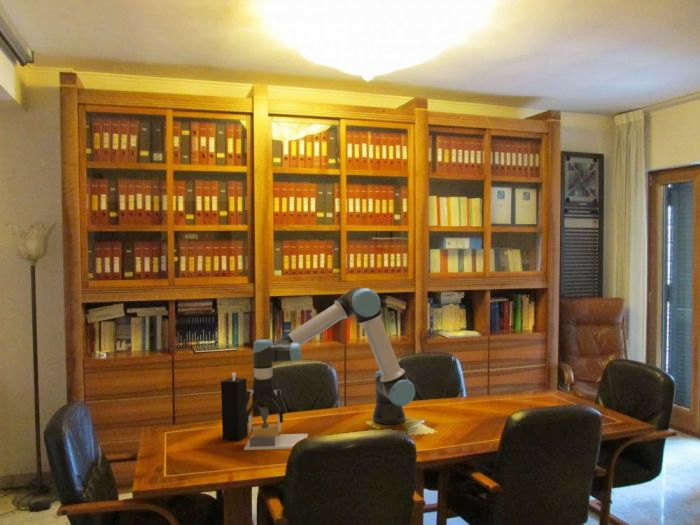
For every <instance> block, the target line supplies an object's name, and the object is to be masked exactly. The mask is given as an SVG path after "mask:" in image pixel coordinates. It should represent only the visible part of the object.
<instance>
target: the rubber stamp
mask: <svg viewBox="0 0 700 525" xmlns="http://www.w3.org/2000/svg"><path fill="white" fill-rule="evenodd" d="M269 414H270V412H269V408H268V407H267V406H262V407H261V408H260V417H261V420H262V422H263V423H262V425H257V426H252V428H251V430H252V431H251V435H252V437H267V436H279V434H280V432H279V433H278V425H277V424H275V423H270V424H267V420H268V418H269Z"/></svg>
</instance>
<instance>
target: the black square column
mask: <svg viewBox="0 0 700 525" xmlns="http://www.w3.org/2000/svg"><path fill="white" fill-rule="evenodd" d="M236 375H237V372H234V371H233V372H231V377H230V378H226V379H224V380H222V381H220V388H221V389H220V390H221V392H220V393H221V394H220V395H221V396H220V397H221V422H222V424H221V426H222V428H221V429H222V430H221V431H222V432H221V433H222V441H223V440H224V441H232V442H240V441H241V440H243V439H244V438H246V437H248V436H249V435H248V433H249V427H248V424H247V423H246V415H242V414H241V412H242V410H243V407H244V404H245V401H246V398H247V391H248V389H247V378H245V377H244V378H242V377H240V378H239V377H236ZM246 411H248V408H247V409H246Z"/></svg>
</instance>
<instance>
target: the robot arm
mask: <svg viewBox="0 0 700 525" xmlns="http://www.w3.org/2000/svg"><path fill="white" fill-rule="evenodd" d="M382 315H383V311H382V309H381V299H380V297H379V295H378V293H377V292H375V291H374V290H373V289H371V288H365V287H363V288H361V287H355V288H352V289H350V290H348V291H347V292H345V293H344V294H343V295H341V296H340V297H338V298H337V299H336V300H334V304H332V305H330V306H329V307H328V308H326V309H325V310H323V311H321V312H320V313H319V314H317V315H315V316H314V317H312V318H311V319H309V320H308V321H305V322H304V323H303V324H302V325H300V326H298V327H297V328H295V329H294V330H292V331H290V332H289V333H288V334H286V335H285V336H283V337H282V338H277V339H276V340H275V341H274V342H272V340H271V339H263V338H262V339H257V340H255V341H254V342H253V348H252V350H253V355H252V356H253V376H254V377H253V378H254V379H253V382H254V383H253V384H254V386H253V387H254V388H253V390H251V389H247V398H246V401H245V404H244V407H243V410H242V412H241V414H242V415H246V423H247V425H248V433H252V430H251V428H252V427H253V422H252V421H253V420H252V417H253V416H252V415H253V414H251V412H252V411H253V409H254V407H255V406H256V404H257V403H258V401H260V402H262V401H265V402H266V401H269V402H270V403H271V405H272V406H273V407H274V409H275V410H276V412H277V413H278V414H277V426H278V431H279V432H281V428H282V426H281V423H283V421H284V414H287V412H288V409H287V406H286V403H285V401H284V399H283V396H282V390H281V388H279V389H274V382H273V379H274V378H273V363H281V362H282V363H283V362H295V361H299V360H301V358H302V347H301V346H303V345H305V344H306V343H309V341H311V340H312V339H314V338H315V337H317V336H319V335H320V334H322V333H323V332H324V331H326V330H327V329H329V328H330V327H332V326H333V325H335V324H337V323H338V322H340V321H341V320H343V319H348V318H350V317H351V316H354V317H355V320H356V323H357V324H358V325H361V326H362V328H363V330H364V334H365V336H366V338H367V341H368V344H369V347H370V349H371V351H372V354H373V355H374V358H375V361H376V363H377V366H378V369H379V370H377V371H376V372H375V376H374V381H375V406H374V409H373V413H372V422H374V421H375V422H374V423H376V422H379V423H378V424H380V423H383V424H382V425H396V424H397V425H398V424H402V423H404V422H405V421H406V412H405V410H404V408H403V407H404V406H407V405H409V404H410V403H411V402H412V401H413V400H414V398H415V396H416V389H415V388H416V387H415V385H414V384H413V382H412V381H411V380H409V378H408V375H407V371H406V370H405V368H402V367H400V364H399V361H398V359H397V356H396V354H395V351H394V349H393V346H392V344H391V341H390V339H389V336H388V333H387V331H386V329H385V326H384V322H383V321H382V319H381V318H382ZM274 394H275V395H276V396H277V397H276V398H277V399H278V401H279V402H278V403H277V401H276V400H275V398H274V397H273V396H274ZM253 395H254V396H255V398H254V401H253V402H252V404H251V405H250V407H249V409H248V406H249V405H248V404H249V402H250V399H251V397H252V396H253ZM279 404H280V405H279ZM246 409H247V411H246ZM403 421H404V422H403Z"/></svg>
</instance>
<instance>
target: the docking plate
mask: <svg viewBox="0 0 700 525" xmlns="http://www.w3.org/2000/svg"><path fill="white" fill-rule="evenodd" d="M278 433H279V436H267V437H252V434H251V435H250V437H249V439H248V440H247V442H246V443H245V446H244V447H243V448H244V449H243V450H244V451H256V450H257V451H260V450H262V451H263V450H264V451H265V450H290V449H291V450H293V449H292V447H293V446H294V445H295V444H296V443H297V442H298V441H300V440H302V439H304V438H307V437H309V433H292V434H291V433H290V434H289V433H288V434H287V433H284V434H280V431H278ZM307 439H308V438H307Z"/></svg>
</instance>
